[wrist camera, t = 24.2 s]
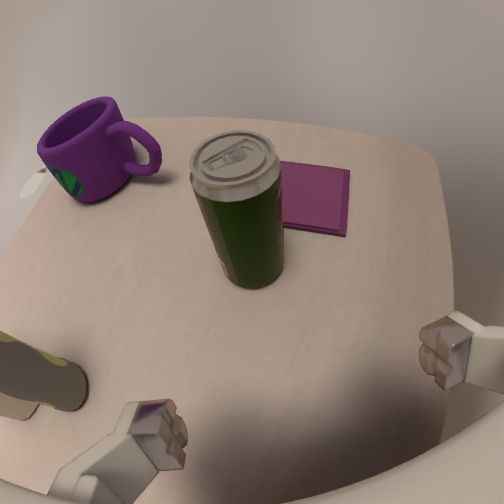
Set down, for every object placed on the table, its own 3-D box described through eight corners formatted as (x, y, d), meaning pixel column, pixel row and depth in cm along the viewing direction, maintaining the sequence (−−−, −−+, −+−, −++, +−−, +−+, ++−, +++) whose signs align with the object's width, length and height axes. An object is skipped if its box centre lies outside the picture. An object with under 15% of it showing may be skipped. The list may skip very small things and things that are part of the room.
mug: (58, 205, 34) (21, 154, 26) (101, 150, 40) (75, 100, 31) (150, 223, 30) (110, 152, 21) (194, 154, 35) (174, 86, 27)
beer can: (241, 302, 24) (206, 204, 14) (213, 255, 27) (173, 151, 17) (296, 271, 25) (299, 162, 15) (264, 228, 28) (250, 119, 18)
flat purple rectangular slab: (349, 172, 31) (350, 167, 30) (345, 237, 26) (346, 232, 26) (230, 159, 34) (229, 154, 33) (203, 216, 29) (202, 212, 29)
